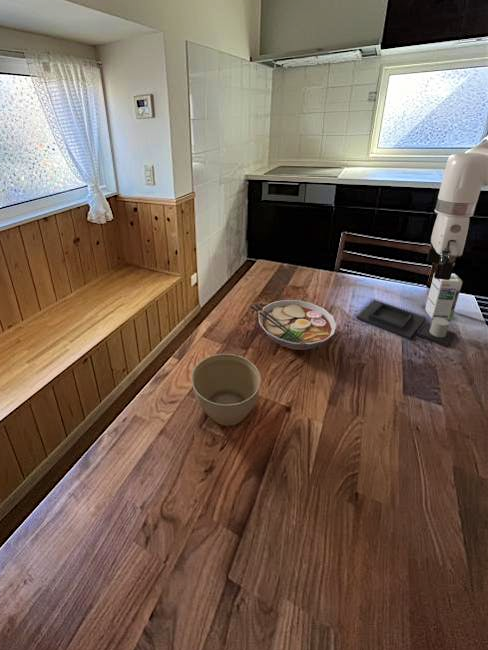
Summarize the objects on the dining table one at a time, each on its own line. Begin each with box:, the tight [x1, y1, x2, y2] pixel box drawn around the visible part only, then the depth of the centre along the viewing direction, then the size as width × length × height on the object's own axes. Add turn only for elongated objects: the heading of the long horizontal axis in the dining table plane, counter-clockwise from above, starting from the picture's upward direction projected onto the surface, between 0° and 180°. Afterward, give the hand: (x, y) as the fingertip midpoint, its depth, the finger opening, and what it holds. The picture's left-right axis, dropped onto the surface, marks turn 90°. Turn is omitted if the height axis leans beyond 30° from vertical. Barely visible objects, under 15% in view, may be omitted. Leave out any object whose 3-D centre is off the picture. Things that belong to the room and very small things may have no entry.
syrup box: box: [424, 272, 463, 321], centre depth 109 cm, size 6×6×14 cm
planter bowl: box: [191, 353, 262, 427], centre depth 81 cm, size 16×16×11 cm
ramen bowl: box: [250, 299, 337, 351], centre depth 104 cm, size 25×23×8 cm
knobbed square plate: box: [419, 317, 455, 348], centre depth 101 cm, size 7×7×6 cm
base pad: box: [356, 299, 426, 341], centre depth 111 cm, size 16×14×2 cm
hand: (437, 270), depth 88 cm, fingers open, 9 cm apart
